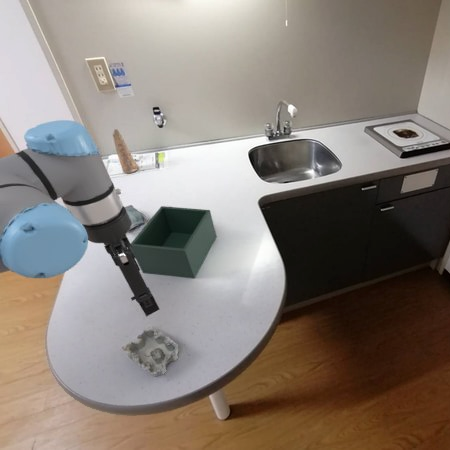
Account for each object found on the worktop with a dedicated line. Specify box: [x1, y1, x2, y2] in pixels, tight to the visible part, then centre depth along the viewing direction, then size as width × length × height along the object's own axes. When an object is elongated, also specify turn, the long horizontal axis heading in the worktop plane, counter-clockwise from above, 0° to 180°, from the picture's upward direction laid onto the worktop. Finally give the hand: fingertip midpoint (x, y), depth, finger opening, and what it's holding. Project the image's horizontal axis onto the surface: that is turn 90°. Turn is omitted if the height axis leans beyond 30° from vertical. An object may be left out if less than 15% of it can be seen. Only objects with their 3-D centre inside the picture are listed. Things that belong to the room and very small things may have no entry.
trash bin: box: [130, 205, 217, 279], centre depth 89 cm, size 16×18×11 cm
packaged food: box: [124, 204, 149, 231], centre depth 103 cm, size 9×12×5 cm
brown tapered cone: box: [112, 129, 139, 175], centre depth 127 cm, size 6×18×6 cm
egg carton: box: [121, 326, 180, 378], centre depth 67 cm, size 11×8×4 cm
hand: (142, 290), depth 66 cm, fingers open, 13 cm apart
